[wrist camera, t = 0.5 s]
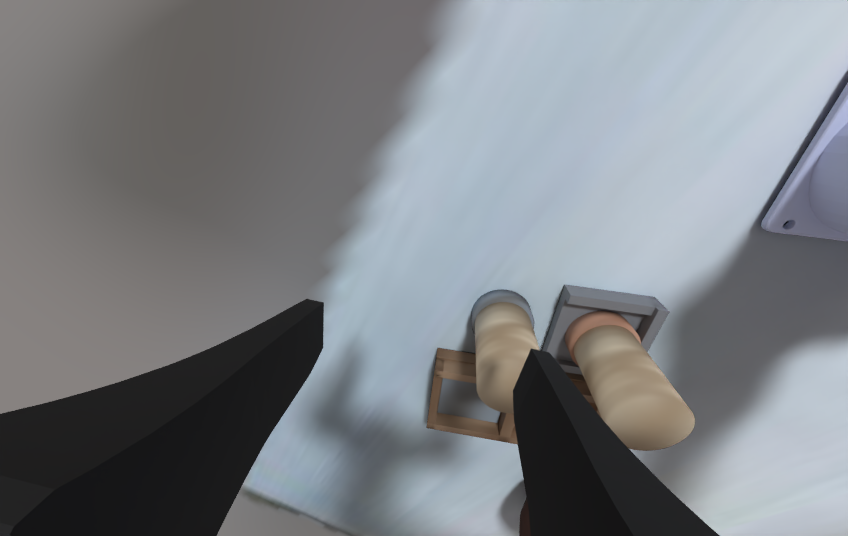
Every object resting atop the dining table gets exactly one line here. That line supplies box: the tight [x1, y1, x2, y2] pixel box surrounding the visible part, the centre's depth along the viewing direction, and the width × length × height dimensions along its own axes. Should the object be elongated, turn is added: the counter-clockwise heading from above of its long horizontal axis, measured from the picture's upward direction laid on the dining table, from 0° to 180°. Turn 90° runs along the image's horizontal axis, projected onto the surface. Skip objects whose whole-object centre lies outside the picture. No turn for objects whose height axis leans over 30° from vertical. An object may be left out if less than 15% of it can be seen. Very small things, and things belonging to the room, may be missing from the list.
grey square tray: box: [542, 285, 669, 375], centre depth 20 cm, size 6×6×2 cm
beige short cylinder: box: [565, 311, 695, 451], centre depth 17 cm, size 4×4×6 cm
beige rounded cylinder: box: [472, 290, 539, 414], centre depth 18 cm, size 4×4×6 cm
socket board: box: [427, 348, 602, 444], centre depth 23 cm, size 12×6×2 cm, turn 85°
